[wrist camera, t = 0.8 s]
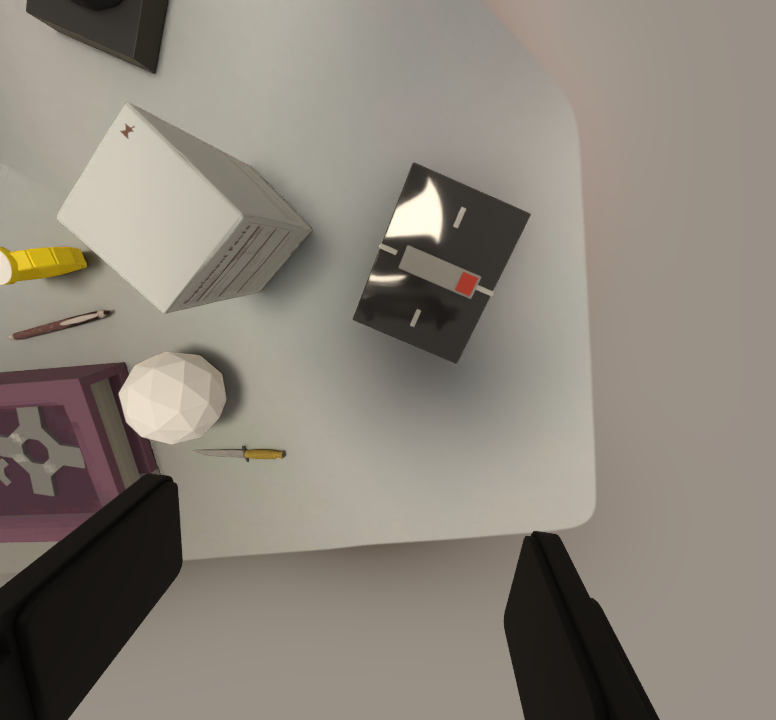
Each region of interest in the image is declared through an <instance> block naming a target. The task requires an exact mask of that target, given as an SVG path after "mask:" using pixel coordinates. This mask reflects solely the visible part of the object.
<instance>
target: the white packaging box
mask: <svg viewBox="0 0 776 720" xmlns="http://www.w3.org/2000/svg"><path fill="white" fill-rule="evenodd" d="M57 219H58V220H59V221H60V222H61V223H62V224H63V225H64V226H65V227H66V228H68V229H69V230H70V231H71V232H72V233H73V234H74V235H75V236H77V237H78V238H79V239H80V240H81V241H82V242H83V243H85V244H86V245H87V246H88V247H89V248H90V249H91V250H92V251H93V252H95V253H96V254H97V255H98V256H99V257H100V258H101V259H102V260H104V261H105V262H106V263H107V264H108V265H109V266H110V267H111V268H113V269H114V270H115V271H116V272H117V273H118V274H119V275H120V276H122V277H123V278H124V279H125V280H126V281H127V282H128V283H129V284H131V285H132V286H133V287H134V288H135V289H136V290H137V291H138V292H139V293H141V294H142V295H143V296H144V297H145V298H146V299H147V300H148V301H149V302H151V303H152V304H153V305H154V306H155V307H156V308H157V309H158V310H159V311H160V312H162V313H163V314H166V313H170V312H174V311H179V310H183V309H188V308H192V307H196V306H201V305H205V304H209V303H213V302H217V301H222V300H227V299H231V298H235V297H240V296H244V295H249V294H253V293H257V292H260V291H261V290H262V289H263V287H264V286H265V285H266V284H267V283H268V281H269V280H270V279H271V278H272V277H273V276H274V274H275V273H276V272H277V271H278V270H279V269H280V267H281V266H282V265H283V264H284V263H285V262H286V260H287V259H288V258H289V257H290V256H291V255H292V253H293V252H294V251H295V250H296V249H297V248H298V246H299V245H300V244H301V243H302V242H303V240H304V239H305V238H306V237H307V236H308V235H309V234H310V232H311V231H312V229H311V228H310V227H309V225H308V224H307V223H306V222H305V221H304V220H303V219H302V218H301V217H300V216H299V215H298V214H297V213H296V212H295V211H294V210H293V209H292V208H291V207H290V206H289V205H288V204H287V203H286V202H285V201H284V200H283V199H282V198H281V197H280V196H279V195H278V194H277V193H276V192H275V191H274V190H273V189H272V188H271V187H270V186H269V185H268V184H267V183H266V182H265V181H264V180H263V179H262V178H261V177H260V176H259V175H258V174H257V173H256V172H255V171H254V170H253V169H252V168H251V167H250V166H249V165H248V164H246V163H244V162H242V161H240V160H238V159H236V158H234V157H233V156H231V155H229V154H227V153H225V152H223V151H221V150H219V149H217V148H215V147H213V146H211V145H210V144H208V143H206V142H204V141H202V140H200V139H198V138H196V137H194V136H192V135H190V134H189V133H187V132H185V131H183V130H181V129H179V128H177V127H175V126H173V125H171V124H169V123H168V122H166V121H164V120H162V119H160V118H158V117H156V116H154V115H152V114H151V113H149V112H147V111H145V110H143V109H141V108H139V107H137V106H135V105H133V104H131V103H129V102H126V103H125V105H124V107H123V108H122V110H121V112H120V113H119V115H118V116H117V118H116V119H115V121H114V122H113V124H112V125H111V127H110V129H109V130H108V132H107V133H106V135H105V137H104V138H103V140H102V142H101V143H100V145H99V147H98V148H97V150H96V152H95V153H94V155H93V156H92V158H91V160H90V162H89V163H88V165H87V166H86V168H85V170H84V171H83V173H82V175H81V176H80V178H79V180H78V181H77V183H76V185H75V186H74V188H73V190H72V191H71V193H70V194H69V196H68V198H67V199H66V201H65V202H64V204H63V206H62V208H61V209H60V212H59V214H58V216H57Z"/></svg>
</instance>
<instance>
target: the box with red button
mask: <svg viewBox="0 0 776 720" xmlns="http://www.w3.org/2000/svg"><path fill="white" fill-rule="evenodd" d="M399 269H402V270H404V271H406V272H409V273H411V274H413V275H416V276H418V277H420V278H423V279H425V280H427V281H429V282H432V283H434V284H436V285H439V286H441V287H443V288H446V289H448V290H450V291H453V292H455V293H457V294H460V295H462V296H464V297H467V298H469V299H471V298H472V296H473V294H474V292H475V290H476V288H477V286H478V284H479V282H480V279H481V276H479V275H476V274H474V273H472V272H469V271H467V270H465V269H462V268H460V267H458V266H455V265H453V264H451V263H449V262H446V261H444V260H442V259H439V258H437V257H435V256H432V255H430V254H428V253H425V252H423V251H421V250H418V249H416V248H414V247H411V246H409V245H408V246H407V247H406V250H405V252H404V255H403V257H402V260H401V262H400V265H399Z"/></svg>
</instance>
